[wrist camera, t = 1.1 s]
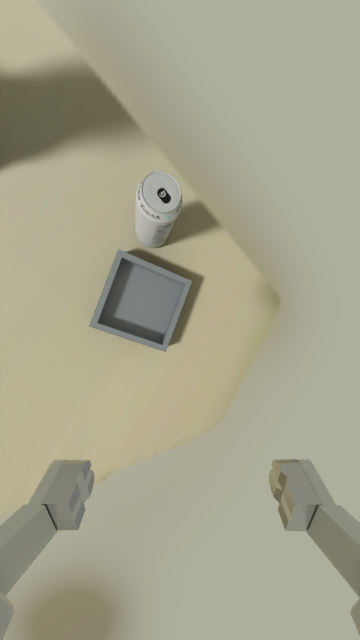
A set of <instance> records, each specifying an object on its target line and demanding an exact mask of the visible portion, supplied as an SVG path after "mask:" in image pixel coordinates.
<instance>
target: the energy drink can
mask: <svg viewBox="0 0 360 640" xmlns="http://www.w3.org/2000/svg"><path fill="white" fill-rule="evenodd" d="M182 203H183V202H182V194H181V190H180V187H179V184H178V182H177V181H176V179H175V178H174V177H173V176H171V175H170V174H168V173H167V172H163V171H154V172H151V173H150V174H148V175H147V176H146V177H145V178H144V179H143V180H142V181H141V182H140V183H139V185H138V187H137V190H136V211H135V233H136V237H137V239H138V240H139V242H140V243H141V244H142V245H144V246H146V247H148V248H157V247H160V246H161V245H163V244H164V243H165V241H166V239H167V237H168V235H169V233H170V231H171V229H172V227H173V225H174V223H175V221H176V219H177V217H178V215H179V213H180V211H181V208H182Z"/></svg>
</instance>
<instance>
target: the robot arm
mask: <svg viewBox="0 0 360 640" xmlns="http://www.w3.org/2000/svg"><path fill="white" fill-rule="evenodd" d="M90 467H91V462H90V460H54V461H53V462H52V463H51V464H50V466H49V468H48V469H47V471H46V473H45V475H44V477H43V478H42V480H41V482H40V484H39V485H38V487H37V489H36V491H35V492H34V494H33V496H32V498H31V499H30V501H29V503H28V505H23V506H22V507H21V508H20V509H19V510H17V511H16V512H15V513H14V514H13V515H12V516H11V517H10V518H9V519H7V520H6V521H5V522H4V523H3V524H2V525H1V526H0V640H2V639H3V636H4V635H5V632H6V630H7V628H8V625H9V623H10V621H11V618H12V616H13V614H14V606H13V604H12V603H11V602H10V601H9V600H8V599H7V597H6V595H7V593H8V592H9V591H10V590H11V588H12V587H13V586H14V585H15V584H16V582H17V581H18V580H19V579H20V577H21V576H22V575H23V574H24V572H25V571H26V570H27V569H28V567H29V566H30V565H31V564H32V562H33V561H34V560H35V559H36V558H37V556H38V555H39V554H40V553H41V551H42V550H43V549H44V548H45V546H46V545H47V544H48V543H49V541H50V540H51V539H52V538H53V536H54V535H55V534H56V533H57V530H78V529H79V526H80V523H81V520H82V518H83V515H84V512H85V505H84V502H85V501H86V500H87V499H88V498H89V497H90V494H91V491H92V488H93V483H94V473H93V471H92V470H91V469H90ZM272 467H273V469H272V470H271V471H270V474H269V482H270V487H271V491H272V493H273V496H274V498H275V499H276V500H277V501H278V502H279V508H278V511H279V514H280V517H281V520H282V522H283V525H284V528H285V530H287V531H307V533H308V535H309V536H310V537H311V538H312V539H313V541H314V542H315V543H316V544H317V545H318V547H319V548H320V549H321V551H322V552H323V553H324V554H325V556H326V557H327V558H328V559H329V560H330V562H331V563H332V564H333V565H334V566H335V568H336V569H337V570H338V572H339V573H340V574H341V575H342V576H343V578H344V579H345V580H346V581H347V583H348V584H349V585H350V586H351V588H352V589H353V590H354V591H355V592H356V594H357V595H358V596H359V600H358V601H357V602H356V603H355V605H354V606H353V607H352V609H351V616H352V618H353V621H354V623H355V625H356V627H357V630H358V632H359V634H360V523H359V522H358V521H357V520H356V519H355V518H354V517H353V516H351V515H350V514H349V513H348V512H347V511H346V510H345V509H344V508H343V507H341V506H340V505H336V504H335V502H334V500H333V498H332V497H331V495H330V493H329V492H328V490H327V488H326V486H325V484H324V483H323V481H322V479H321V478H320V476H319V474H318V472H317V470H316V469H315V467H314V465H313V464H312V462H311V461H310V460H296V459H295V460H294V459H292V460H274V461H273V462H272Z"/></svg>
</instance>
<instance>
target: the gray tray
mask: <svg viewBox="0 0 360 640" xmlns="http://www.w3.org/2000/svg"><path fill="white" fill-rule="evenodd" d="M191 283H192V281H191V280H189V279H186V278H184V277H182V276H179V275H177V274H175V273H173V272H170V271H168V270H166V269H163V268H161V267H159V266H156V265H154V264H152V263H149V262H147V261H145V260H142V259H140V258H138V257H135V256H133V255H131V254H128V253H126V252H124V251H121V250H119V249H118V251H117V254H116V257H115V259H114V262H113V265H112V267H111V270H110V272H109V275H108V278H107V280H106V283H105V286H104V288H103V291H102V294H101V296H100V299H99V302H98V304H97V307H96V310H95V312H94V315H93V318H92V320H91V323H90V325H89V327H92V328H95V329H98V330H101V331H104V332H107V333H110V334H113V335H116V336H119V337H122V338H125V339H128V340H131V341H134V342H137V343H140V344H143V345H146V346H149V347H153V348H156V349H159V350H162V351H165V352H166V350H167V347H168V345H169V342H170V339H171V337H172V334H173V331H174V329H175V326H176V323H177V321H178V318H179V315H180V313H181V310H182V307H183V305H184V302H185V299H186V297H187V294H188V291H189V289H190V286H191Z"/></svg>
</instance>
